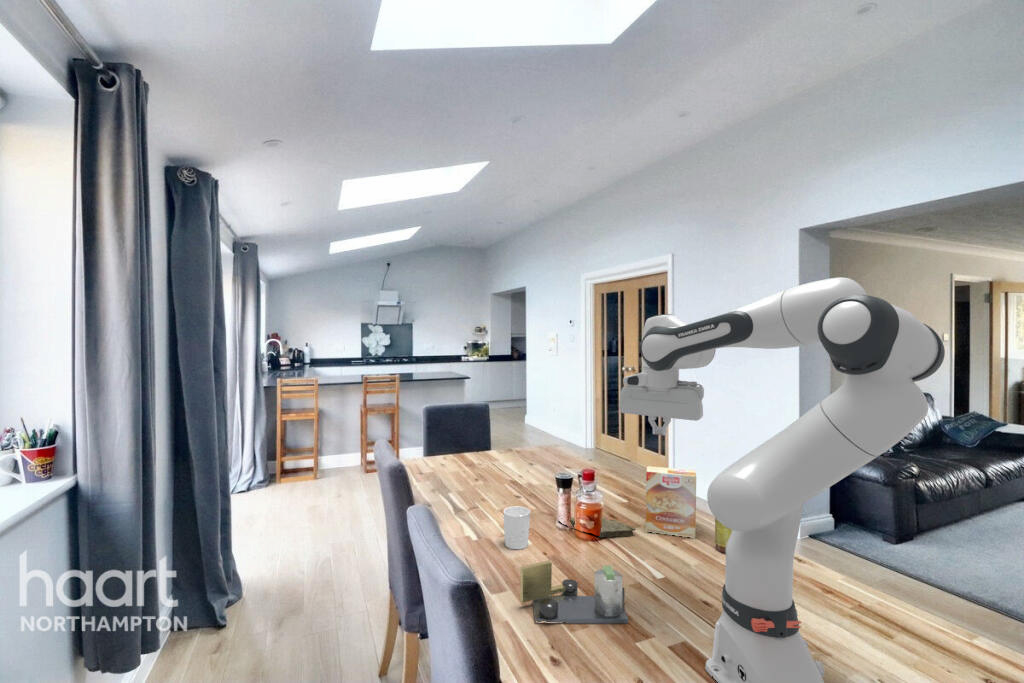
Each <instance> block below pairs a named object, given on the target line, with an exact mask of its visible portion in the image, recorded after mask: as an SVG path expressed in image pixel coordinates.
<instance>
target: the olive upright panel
mask: <svg viewBox="0 0 1024 683" xmlns="http://www.w3.org/2000/svg"><path fill="white" fill-rule="evenodd" d="M552 569H553V566H552V561H551V560H544V561H541V562H537V563H536V562H535V563H532V564H528V565H527V564H526V565H523V566H520V583H519V584H520V586H519V587H520V591H519V592H520V593H519V597H520V598H519V600H520V602H521V603H527V602H531V601H532V602H533V600H535V599H539V598H543V597H546V596H554V595H557V594H560V593H561V594H562V596H578V586H579V585H578V583H579V582H577V580H575V579H570V578H568V579H567V578H566V579H563V581H562V583H561V584H558V585H554V586H552V580H553V579H552V578H553V577H552V574H553V573H552Z"/></svg>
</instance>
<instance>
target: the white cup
mask: <svg viewBox="0 0 1024 683" xmlns="http://www.w3.org/2000/svg"><path fill="white" fill-rule="evenodd" d="M530 519H531V510H530V509H529V508H527V507H525V506H518V505H517V506H508V507H506V508H504V509H503V530H504V531H503V533H504V545H505V547H506V548H508V549H511V550H515V549H516V550H524V549H526V548H527V547H528V546H529V536H530V524H531V522H530V521H531V520H530Z"/></svg>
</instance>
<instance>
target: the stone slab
mask: <svg viewBox="0 0 1024 683" xmlns="http://www.w3.org/2000/svg"><path fill="white" fill-rule="evenodd" d="M602 518H603V519H602V528H601V531H600V536H599V537H598V538H600V539H603V538H609V539H611V538H613V537H623V536H624V537H626V536H627V537H631V536H633V535H634V531H636V530H637V528H636V527H633V526H630V525H628V524H626V523H624V522H621V521H618V520H615V519H612V518H611V519H608V518H605V517H602ZM570 522H571V524H572V526H573V527H574V525H575V520H574V518H570Z"/></svg>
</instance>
